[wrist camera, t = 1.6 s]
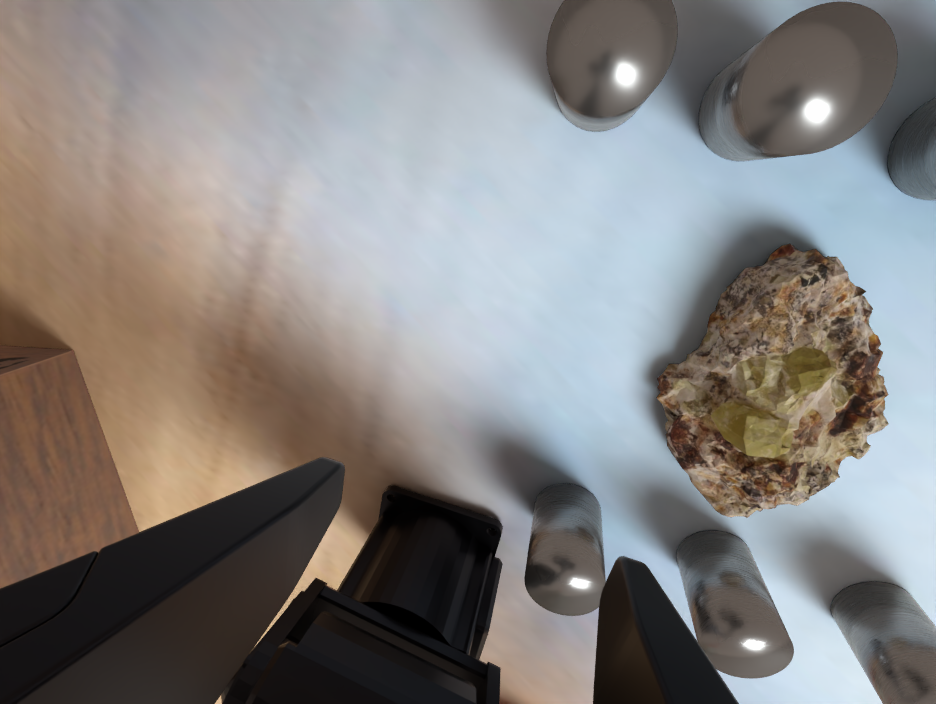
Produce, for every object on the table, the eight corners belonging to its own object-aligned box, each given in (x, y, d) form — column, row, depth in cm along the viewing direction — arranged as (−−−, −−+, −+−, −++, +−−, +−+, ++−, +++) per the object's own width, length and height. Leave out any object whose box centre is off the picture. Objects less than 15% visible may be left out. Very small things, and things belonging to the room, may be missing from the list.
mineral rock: (888, 542, 17) (679, 549, 17) (801, 475, 21) (633, 479, 21) (996, 251, 13) (735, 252, 13) (867, 238, 18) (666, 239, 17)
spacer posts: (453, 500, 24) (426, 567, 19) (569, 18, 15) (565, -42, 11) (890, 644, 21) (967, 759, 17) (1329, 148, 12) (1701, 133, 8)
